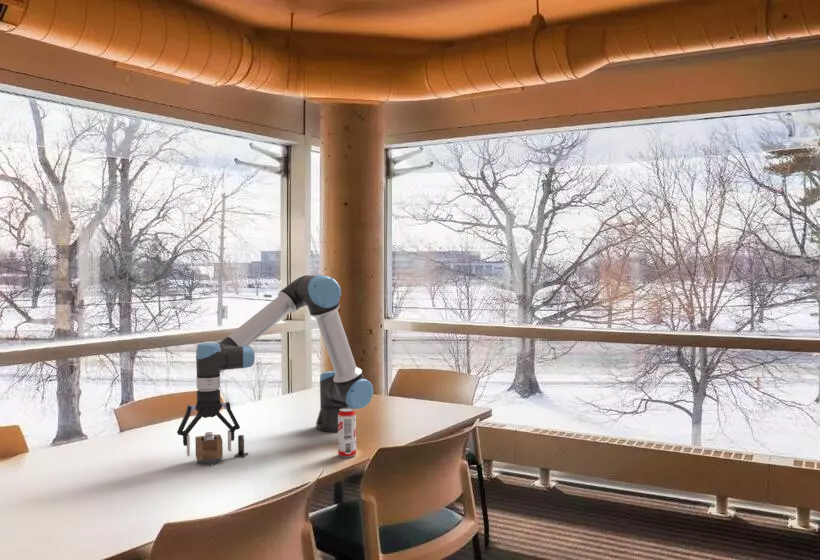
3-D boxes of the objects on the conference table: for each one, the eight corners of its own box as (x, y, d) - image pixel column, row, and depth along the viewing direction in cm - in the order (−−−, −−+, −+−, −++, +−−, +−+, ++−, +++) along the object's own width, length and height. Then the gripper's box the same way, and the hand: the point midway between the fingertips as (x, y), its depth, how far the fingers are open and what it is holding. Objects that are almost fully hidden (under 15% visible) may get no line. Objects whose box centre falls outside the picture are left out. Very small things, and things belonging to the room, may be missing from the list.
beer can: (339, 458, 222) (339, 412, 221) (336, 453, 228) (336, 408, 227) (357, 457, 223) (357, 410, 223) (354, 452, 229) (354, 407, 229)
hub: (204, 459, 222) (204, 430, 222) (221, 459, 221) (221, 430, 221) (196, 464, 216) (196, 435, 216) (214, 465, 215) (213, 435, 215)
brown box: (195, 454, 221) (195, 436, 221) (220, 451, 224) (219, 434, 224) (197, 460, 214) (197, 442, 213) (222, 458, 217) (222, 440, 216)
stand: (238, 454, 228) (238, 434, 228) (248, 454, 227) (248, 434, 227) (234, 457, 224) (234, 436, 224) (244, 457, 224) (244, 437, 224)
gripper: (169, 394, 210) (170, 460, 210) (247, 388, 220) (248, 451, 220) (168, 390, 217) (169, 454, 217) (244, 384, 227) (245, 445, 227)
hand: (209, 452), depth 219 cm, fingers open, 13 cm apart
